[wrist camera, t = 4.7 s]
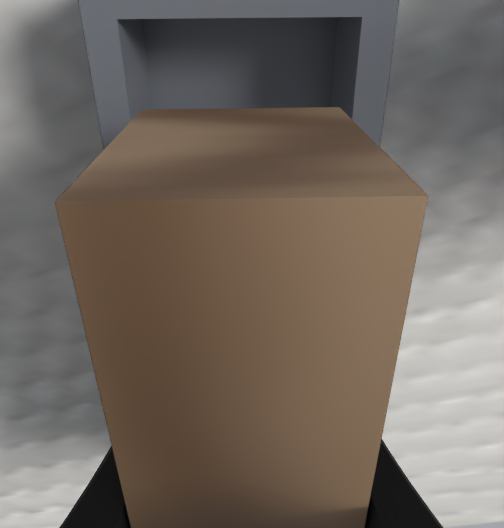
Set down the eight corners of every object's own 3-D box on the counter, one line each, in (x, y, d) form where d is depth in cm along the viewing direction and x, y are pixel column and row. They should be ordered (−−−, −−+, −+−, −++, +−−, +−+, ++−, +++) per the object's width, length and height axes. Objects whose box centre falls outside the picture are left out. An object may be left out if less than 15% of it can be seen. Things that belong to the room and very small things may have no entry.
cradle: (371, -26, 13) (412, -36, 10) (324, 430, 23) (338, 498, 19) (105, -24, 13) (63, -33, 10) (169, 433, 22) (158, 503, 19)
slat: (339, 107, 9) (427, 195, 5) (305, 518, 16) (329, 707, 12) (141, 109, 9) (55, 201, 5) (192, 521, 16) (174, 713, 12)
